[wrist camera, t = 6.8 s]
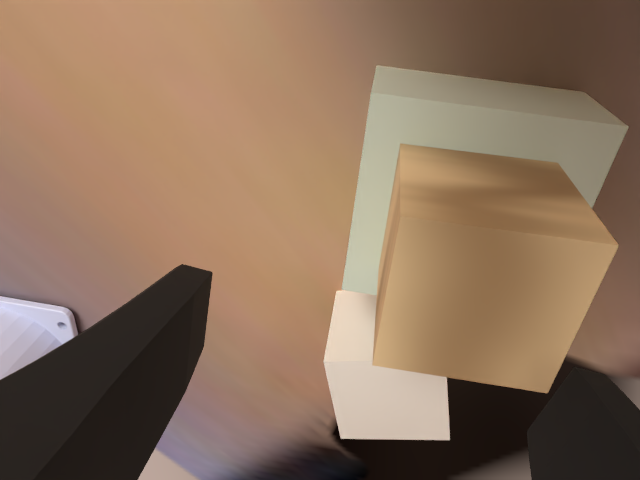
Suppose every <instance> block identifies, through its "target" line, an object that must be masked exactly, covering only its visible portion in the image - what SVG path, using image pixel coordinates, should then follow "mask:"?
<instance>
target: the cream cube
mask: <svg viewBox="0 0 640 480" xmlns="http://www.w3.org/2000/svg"><path fill="white" fill-rule="evenodd" d="M376 300H377V295H371V294H365V293H359V292H353V291H347V290H345V291H336V297H335V302H334V308H333V313H332V318H331V324H330V329H329V335H328V340H327V346H326V351H325V356H324V366H325V370H326V375H327V379H328V384H329V388H330V393H331V397H332V402H333V406H334V410H335V415H336V419H337V424H338V428H339V432H340V437H341V439H401V440H403V439H404V440H450V430H449V411H448V391H447V377H442V376H436V375H430V374H423V373H417V372H411V371H405V370H398V369H392V368H386V367H380V366H373V365H372V362H373V347H374V331H375V316H376Z"/></svg>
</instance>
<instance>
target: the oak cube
mask: <svg viewBox="0 0 640 480" xmlns="http://www.w3.org/2000/svg"><path fill="white" fill-rule="evenodd" d="M618 247H619V245H618V243H617V242H616V241H615V239H614V238H613V237H612V235H611V234H610V233H609V231H608V230H607V228H606V227H605V226H604V224H603V223H602V222H601V220H600V219H599V218H598V216H597V215H596V214H595V212H594V211H593V210H592V208H591V207H590V205H589V204H588V203H587V201H586V200H585V199H584V197H583V196H582V195H581V193H580V192H579V191H578V189H577V188H576V187H575V185H574V184H573V182H572V181H571V180H570V178H569V177H568V176H567V174H566V173H565V172H564V170H563V169H562V168H561V166H560V165H559V163H556V162H548V161H540V160H532V159H523V158H515V157H507V156H499V155H491V154H483V153H474V152H466V151H458V150H450V149H442V148H434V147H425V146H417V145H409V144H401V143H400V147H399V153H398V159H397V165H396V171H395V176H394V182H393V188H392V194H391V199H390V205H389V211H388V217H387V223H386V228H385V234H384V240H383V246H382V252H381V257H380V263H379V269H378V285H377V300H376V316H375V331H374V347H373V362H372V365H373V366H380V367H386V368H392V369H398V370H405V371H411V372H417V373H423V374H430V375H436V376H442V377H448V378H455V379H461V380H468V381H474V382H480V383H487V384H492V385H499V386H505V387H512V388H517V389H524V390H530V391H537V392H542V393H548V392H549V389H550V387H551V385H552V383H553V381H554V379H555V377H556V375H557V373H558V371H559V369H560V367H561V364H562V362H563V360H564V358H565V356H566V354H567V352H568V350H569V348H570V346H571V344H572V342H573V340H574V338H575V336H576V334H577V331H578V329H579V327H580V325H581V323H582V321H583V319H584V317H585V315H586V313H587V311H588V309H589V307H590V305H591V303H592V300H593V298H594V296H595V294H596V292H597V290H598V288H599V286H600V284H601V282H602V280H603V278H604V276H605V274H606V271H607V269H608V267H609V265H610V263H611V261H612V259H613V257H614V255H615V253H616V251H617V249H618Z"/></svg>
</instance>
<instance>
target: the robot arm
mask: <svg viewBox="0 0 640 480" xmlns="http://www.w3.org/2000/svg"><path fill="white" fill-rule="evenodd" d="M211 281H212V272H210V271H206V270H203V269H199V268H195V267H191V266H187V265H183V264H182V265H180V266H178V267H176V268H175V269H173V270H172V271H170V272H169V273H168V274H166V275H165V276H164V277H162V278H161V279H160V280H158V281H157V282H155V283H154V284H153V285H151V286H150V287H149V288H147V289H146V290H144V291H143V292H142V293H140V294H139V295H137V296H136V297H134V298H133V299H132V300H130V301H129V302H127V303H126V304H124V305H123V306H121V307H120V308H118V309H117V310H115V311H114V312H112V313H111V314H109V315H108V316H106V317H105V318H103V319H102V320H100V321H99V322H97V323H96V324H94V325H93V326H91V327H90V328H88V329H87V330H85V331H84V332H82V333H80V334H79V335H78V332H77V328H76V324H75V319H74V316H73V313H72V312H71V311H70V310H69V309H67V308H65V307H61V306H55V305H49V304H43V303H37V302H31V301H25V300H20V299H14V298H8V297H2V296H0V480H137V479H138V478H139V476H140V474H141V472H142V471H143V469H144V467H145V465H146V463H147V461H148V460H149V458H150V456H151V454H152V452H153V451H154V449H155V447H156V445H157V443H158V441H159V440H160V438H161V436H162V434H163V432H164V431H165V429H166V427H167V425H168V423H169V421H170V419H171V418H172V416H173V414H174V412H175V410H176V408H177V407H178V405H179V403H180V401H181V399H182V397H183V395H184V393H185V391H186V389H187V387H188V384H189V382H190V379H191V377H192V375H193V372H194V370H195V367H196V365H197V362H198V360H199V357H200V355H201V352H202V350H203V347H204V340H205V331H206V323H207V314H208V306H209V297H210V289H211ZM527 439H528V450H529V461H530V469H531V477H532V480H640V410H639V409H638V408H637V407H636V405H635V404H633V402H632V401H631V400H630V399H629V398H628V397H627V396H626V395H625V394H624V393H623V392H622V391H621V390H620V389H619V388H618V387H617V386H616V385H615V384H614V383H613V382H612V381H611V380H610V379H609V378H608V377H607V376H606V375H605V374H601V373H597V372H593V371H589V370H586V369H581V368H578V367H573V369H572V370H571V372H570V373H569V374H568V376H567V377H566V378H565V380H564V381H563V382H562V384H561V385H560V386H559V388H558V389H557V391H556V392H555V393H554V395H553V396H552V398H551V399H550V400H549V402H548V403H547V404H546V406H545V407H544V408H543V410H542V411H541V412H540V414H539V415H538V417H537V418H536V419H535V421H534V422H533V423H532V425H531V426H530V427H529V429H528V430H527Z"/></svg>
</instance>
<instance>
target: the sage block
mask: <svg viewBox="0 0 640 480" xmlns="http://www.w3.org/2000/svg"><path fill="white" fill-rule="evenodd" d="M628 127H629V126H627V125H626V124H625V123H623V122H622V121H621V120H620V119H618V118H617V117H616V116H614V115H613V114H612V113H611V112H609V111H608V110H607V109H605V108H604V107H603V106H602V105H600V104H599V103H598V102H596V101H595V100H594V99H593V98H591V97H590V96H589V95H587V94H586V93H585V92H581V91H574V90H566V89H558V88H550V87H542V86H535V85H527V84H519V83H511V82H503V81H496V80H488V79H480V78H472V77H464V76H457V75H449V74H441V73H433V72H426V71H418V70H410V69H402V68H394V67H387V66H379V65H376V70H375V75H374V80H373V85H372V90H371V96H370V103H369V110H368V116H367V123H366V130H365V137H364V143H363V150H362V157H361V163H360V170H359V177H358V184H357V190H356V197H355V204H354V210H353V217H352V224H351V231H350V237H349V244H348V251H347V257H346V264H345V271H344V278H343V284H342V290H347V291H353V292H359V293H365V294H371V295H377V285H378V269H379V263H380V257H381V252H382V246H383V240H384V234H385V228H386V223H387V217H388V211H389V205H390V199H391V194H392V188H393V182H394V176H395V171H396V165H397V159H398V153H399V147H400V143H401V144H409V145H417V146H425V147H434V148H442V149H450V150H458V151H466V152H474V153H483V154H491V155H499V156H507V157H515V158H523V159H532V160H540V161H548V162H556V163H559V165H560V166H561V168H562V169H563V170H564V172H565V173H566V174H567V176H568V177H569V178H570V180H571V181H572V182H573V184H574V185H575V187H576V188H577V189H578V191H579V192H580V193H581V195H582V196H583V197H584V199H585V200H586V201H587V203H588V204H589V205H590V207H591V208H593V206H594V203H595V201H596V199H597V197H598V194H599V192H600V190H601V188H602V185H603V183H604V181H605V179H606V177H607V174H608V172H609V170H610V168H611V165H612V163H613V161H614V159H615V156H616V154H617V152H618V150H619V147H620V145H621V143H622V141H623V139H624V136H625V134H626V132H627V130H628Z"/></svg>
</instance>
